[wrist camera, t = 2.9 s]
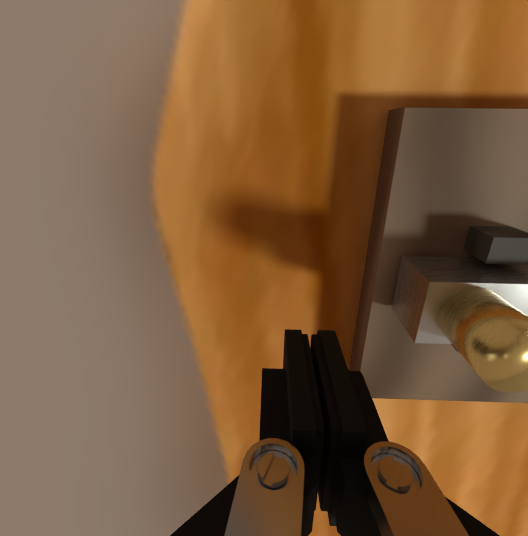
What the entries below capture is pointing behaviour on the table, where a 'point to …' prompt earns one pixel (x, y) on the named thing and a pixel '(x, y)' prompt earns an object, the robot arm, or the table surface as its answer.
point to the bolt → (469, 313)
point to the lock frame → (439, 237)
